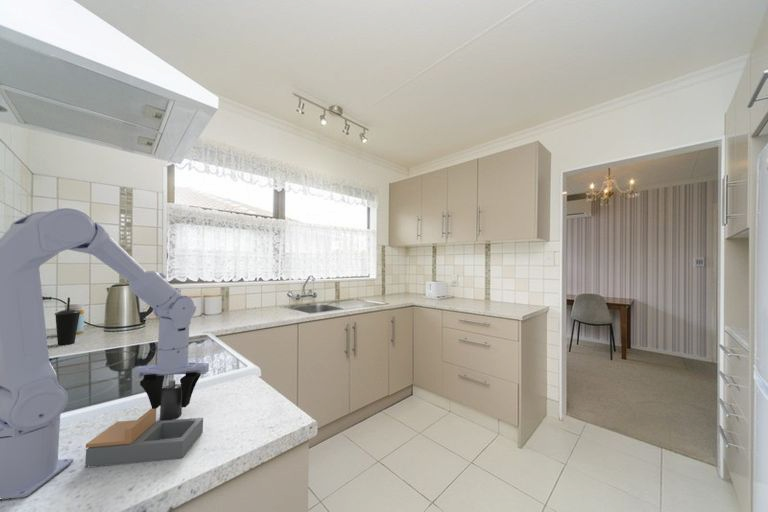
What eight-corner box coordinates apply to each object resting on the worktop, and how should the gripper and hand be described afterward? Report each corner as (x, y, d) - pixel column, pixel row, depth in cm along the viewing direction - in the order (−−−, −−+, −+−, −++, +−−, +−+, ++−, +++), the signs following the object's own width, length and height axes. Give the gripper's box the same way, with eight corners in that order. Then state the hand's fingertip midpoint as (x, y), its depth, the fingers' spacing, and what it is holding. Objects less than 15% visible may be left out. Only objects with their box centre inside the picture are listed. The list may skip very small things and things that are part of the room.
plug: (155, 421, 62) (157, 385, 63) (166, 412, 66) (167, 378, 67) (175, 420, 63) (177, 384, 63) (184, 411, 67) (186, 377, 67)
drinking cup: (68, 341, 126) (70, 296, 126) (84, 341, 125) (86, 296, 126) (46, 346, 118) (49, 298, 119) (64, 346, 118) (67, 298, 119)
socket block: (85, 467, 48) (86, 449, 48) (119, 439, 56) (120, 423, 56) (182, 457, 51) (183, 440, 51) (202, 432, 59) (203, 417, 59)
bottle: (84, 331, 144) (85, 302, 145) (81, 334, 139) (83, 303, 139) (63, 333, 140) (65, 303, 140) (60, 336, 134) (62, 304, 135)
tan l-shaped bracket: (85, 447, 49) (86, 432, 49) (117, 424, 56) (117, 411, 56) (130, 443, 50) (131, 428, 50) (155, 421, 57) (156, 408, 57)
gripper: (214, 341, 71) (212, 396, 70) (149, 343, 68) (146, 400, 67) (201, 349, 64) (199, 410, 63) (128, 352, 61) (125, 415, 60)
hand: (171, 406), depth 65 cm, fingers open, 5 cm apart
